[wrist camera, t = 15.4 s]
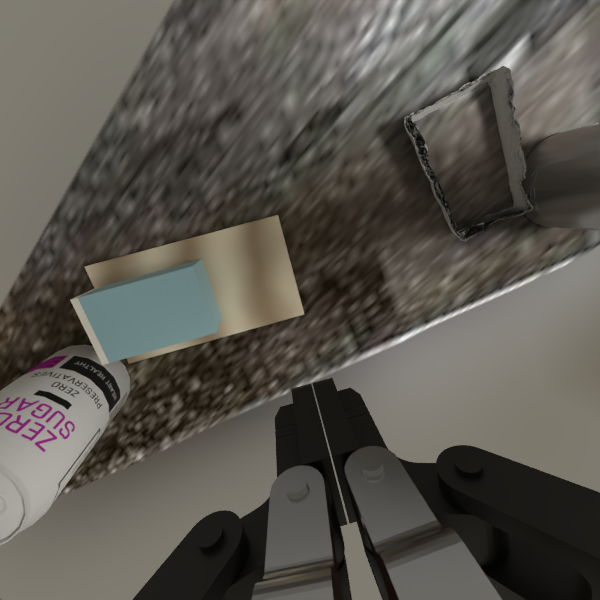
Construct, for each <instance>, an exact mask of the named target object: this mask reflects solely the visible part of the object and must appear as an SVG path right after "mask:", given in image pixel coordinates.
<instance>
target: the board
mask: <svg viewBox="0 0 600 600" xmlns="http://www.w3.org/2000/svg"><path fill="white" fill-rule="evenodd" d="M200 259H201V260H202V262H203V265H204V268H205V271H206V274H207V277H208V279H209V282H210V285H211V288H212V291H213V294H214V296H215V299H216V302H217V305H218V308H219V311H220V313H221V316H222V319H221V322H220V325H219V327H218V330H217V333H213V334H210V335H206V336H203V337H199V338H196V339H192V340H189V341H185V342H182V343H178V344H175V345H171V346H168V347H164V348H161V349H157V350H154V351H150V352H146V353H143V354H139V355H136V356H132V357H129V358H127V360H128V363H133V362H136V361H140V360H143V359H147V358H151V357H154V356H158V355H161V354H165V353H168V352H172V351H175V350H179V349H183V348H186V347H190V346H193V345H197V344H200V343H204V342H207V341H211V340H215V339H218V338H222V337H225V336H229V335H232V334H236V333H239V332H243V331H247V330H250V329H254V328H257V327H261V326H264V325H268V324H272V323H275V322H279V321H282V320H286V319H289V318H293V317H296V316H300V315H304V311H303V307H302V304H301V300H300V296H299V292H298V288H297V285H296V281H295V277H294V273H293V270H292V266H291V262H290V258H289V255H288V251H287V247H286V243H285V239H284V236H283V232H282V228H281V224H280V221H279V217H278V215H275V216H271V217H267V218H264V219H260V220H256V221H252V222H249V223H245V224H241V225H237V226H234V227H230V228H226V229H222V230H219V231H215V232H211V233H208V234H204V235H200V236H196V237H193V238H189V239H185V240H181V241H178V242H174V243H170V244H166V245H163V246H159V247H155V248H151V249H148V250H144V251H140V252H136V253H133V254H129V255H125V256H121V257H118V258H114V259H110V260H106V261H103V262H99V263H95V264H92V265H88V266H85V269H86V271H87V273H88V276H89V278H90V280H91V282H92V284H93V286H94V288H98V287H101V286H105V285H109V284H112V283H116V282H120V281H123V280H127V279H130V278H134V277H138V276H141V275H145V274H149V273H152V272H156V271H160V270H163V269H167V268H171V267H174V266H178V265H181V264H185V263H189V262H192V261H196V260H200Z"/></svg>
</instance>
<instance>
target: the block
mask: <svg viewBox="0 0 600 600" xmlns="http://www.w3.org/2000/svg"><path fill="white" fill-rule="evenodd" d="M70 301H71V303H72V305H73V307H74V309H75V311H76V313H77V315H78V317H79V319H80V321H81V323H82V325H83V327H84V329H85V331H86V333H87V335H88V337H89V339H90V341H91V343H92V345H93V347H94V349H95V351H96V353H97V355H98V357H99V359H100V362H101V364H102V365H104V364H108V363H111V362H115V361H118V360H122V359H125V358H129V357H132V356H136V355H139V354H143V353H146V352H150V351H154V350H157V349H161V348H164V347H168V346H171V345H175V344H178V343H182V342H185V341H189V340H192V339H196V338H199V337H203V336H206V335H210V334H213V333H217V330H218V327H219V325H220V322H221V319H222V316H221V313H220V311H219V308H218V305H217V302H216V299H215V296H214V294H213V291H212V288H211V285H210V282H209V279H208V277H207V274H206V271H205V268H204V265H203V262H202V260H201V259H200V260H196V261H192V262H189V263H185V264H181V265H178V266H174V267H171V268H167V269H163V270H160V271H156V272H152V273H149V274H145V275H141V276H138V277H134V278H130V279H127V280H123V281H120V282H116V283H112V284H109V285H105V286H101V287H98V288H94V289H92V290H90V291H88V292H86V293H84V294H82V295H79V296H77V297H75V298H73V299H71V300H70Z"/></svg>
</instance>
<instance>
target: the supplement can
mask: <svg viewBox="0 0 600 600" xmlns="http://www.w3.org/2000/svg"><path fill="white" fill-rule="evenodd" d="M129 392H130V377H129V375H128V372H127V370H126V368H125V366H124V365H123V364H122V363H121V361H120V360H118V361H115V362H111V363H108V364H104V365H102V364H101V362H100V359H99V357H98V355H97V353H96V351H95V349H94V347H93V346H90V345H75V346H69V347H67V348H64V349H62V350H60V351H57V352H56V353H54V354H53V355H51V356H50V357H48V358H47V359H46V360H44V361H43V362H41V363H40V364H38V365H37V366H35V367H34V368H33V369H31V370H30V371H28V372H27V373H25V374H24V375H22V376H21V377H19V378H18V379H17V380H15V381H14V382H12V383H11V384H9V385H8V386H6V387H5V388H3V389H2V390H1V391H0V545H1V544H3V543H6V542H8V541H9V540H10V539H11V538H13V537H14V535H16V534H17V533H19V532H21V531H22V530H24V529H26V528H27V527H29V526H31V525H33V524H34V523H35V522H36V521H37V520H38V519H39V518H40V517H41V516H42V515H44V514H45V513H46V512H47V511H48V509H49V508H50V506H51V505H52V504H53V502H54V501H55V499H56V498H57V497H58V495H59V494H60V492H61V491H62V490H63V488H64V487H65V485H66V484H67V483H68V481H69V480H70V478H71V477H72V476H73V474H74V473H75V471H76V470H77V469H78V467H79V466H80V464H81V463H82V462H83V460H84V459H85V457H86V456H87V455H88V453H89V452H90V450H91V449H92V448H93V446H94V445H95V443H96V442H97V441H98V439H99V438H100V436H101V435H102V434H103V432H104V431H105V429H106V428H107V427H108V425H109V424H110V422H111V421H112V420H113V418H114V417H115V415H116V414H117V413H118V411H119V410H120V408H121V407H122V406H123V404H124V403H125V401H126V399H127V396H128V394H129Z"/></svg>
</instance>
